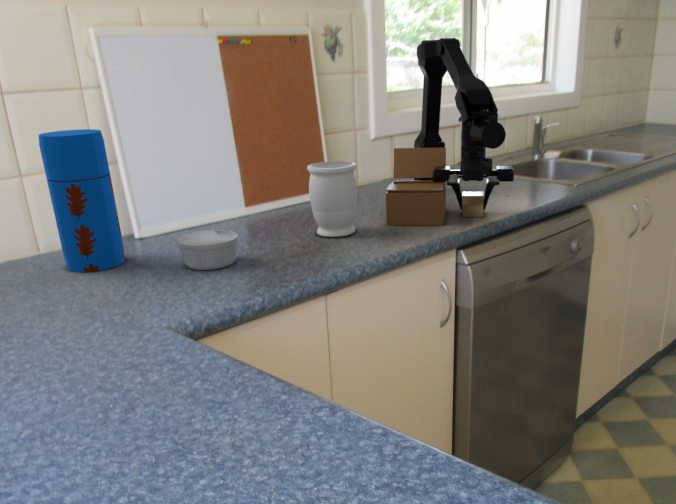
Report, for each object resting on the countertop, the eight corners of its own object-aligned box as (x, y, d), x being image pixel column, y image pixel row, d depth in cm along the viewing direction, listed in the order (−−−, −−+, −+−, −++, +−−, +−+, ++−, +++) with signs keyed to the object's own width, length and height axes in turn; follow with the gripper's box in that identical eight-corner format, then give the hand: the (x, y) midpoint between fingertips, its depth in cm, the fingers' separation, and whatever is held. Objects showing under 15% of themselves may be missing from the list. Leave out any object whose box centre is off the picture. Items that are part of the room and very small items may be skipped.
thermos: (61, 274, 124) (30, 138, 115) (71, 258, 133) (44, 131, 124) (123, 268, 126) (97, 134, 117) (128, 253, 136) (106, 127, 127)
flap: (393, 177, 162) (393, 178, 162) (445, 177, 161) (445, 177, 161) (393, 148, 162) (394, 148, 162) (445, 147, 160) (445, 147, 161)
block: (461, 216, 157) (462, 195, 155) (462, 211, 161) (462, 191, 160) (483, 216, 156) (483, 195, 154) (483, 211, 161) (483, 191, 159)
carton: (394, 210, 165) (393, 177, 162) (445, 210, 164) (445, 177, 161) (386, 225, 151) (385, 190, 148) (442, 225, 150) (442, 189, 147)
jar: (331, 224, 153) (327, 159, 148) (368, 229, 148) (365, 162, 143) (302, 236, 144) (296, 166, 139) (341, 241, 139) (336, 170, 134)
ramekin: (253, 259, 129) (250, 233, 128) (210, 275, 121) (207, 247, 119) (211, 252, 135) (208, 226, 133) (168, 267, 126) (164, 240, 124)
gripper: (430, 149, 146) (431, 218, 152) (516, 148, 144) (513, 218, 150) (433, 142, 157) (434, 207, 162) (513, 141, 155) (511, 207, 160)
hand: (472, 210), depth 158 cm, fingers closed on block, 5 cm apart
